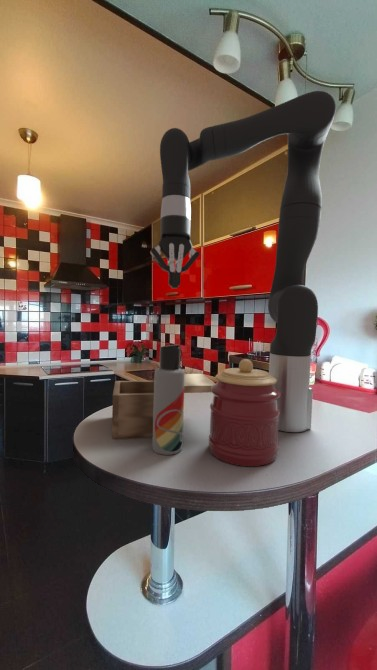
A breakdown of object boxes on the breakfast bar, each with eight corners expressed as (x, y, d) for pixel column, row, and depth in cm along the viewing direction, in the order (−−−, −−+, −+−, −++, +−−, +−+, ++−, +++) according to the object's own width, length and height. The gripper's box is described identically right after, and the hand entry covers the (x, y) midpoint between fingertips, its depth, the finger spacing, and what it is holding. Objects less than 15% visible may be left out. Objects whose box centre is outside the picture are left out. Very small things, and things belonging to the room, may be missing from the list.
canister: (283, 472, 50) (288, 366, 49) (204, 463, 52) (208, 362, 51) (273, 441, 63) (277, 356, 62) (211, 435, 65) (214, 353, 64)
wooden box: (162, 415, 77) (163, 380, 77) (170, 436, 63) (171, 394, 63) (114, 416, 75) (115, 381, 74) (111, 439, 61) (112, 395, 61)
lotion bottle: (178, 457, 54) (181, 346, 53) (148, 453, 55) (150, 344, 54) (185, 444, 59) (188, 343, 58) (158, 441, 61) (160, 342, 60)
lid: (201, 379, 79) (202, 362, 78) (217, 392, 65) (218, 371, 65) (155, 379, 76) (156, 362, 76) (162, 393, 63) (162, 371, 62)
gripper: (150, 211, 71) (149, 285, 71) (205, 216, 73) (203, 287, 74) (148, 221, 78) (147, 288, 79) (197, 225, 81) (196, 290, 82)
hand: (174, 288), depth 77 cm, fingers closed
